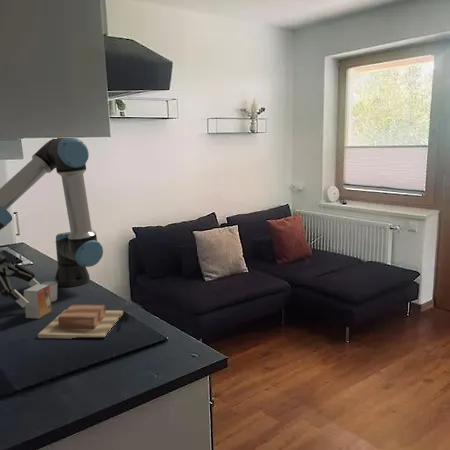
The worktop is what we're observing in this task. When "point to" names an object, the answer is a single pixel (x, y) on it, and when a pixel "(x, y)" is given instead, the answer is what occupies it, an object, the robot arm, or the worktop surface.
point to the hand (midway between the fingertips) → (35, 298)
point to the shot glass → (52, 289)
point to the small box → (37, 301)
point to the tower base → (82, 332)
